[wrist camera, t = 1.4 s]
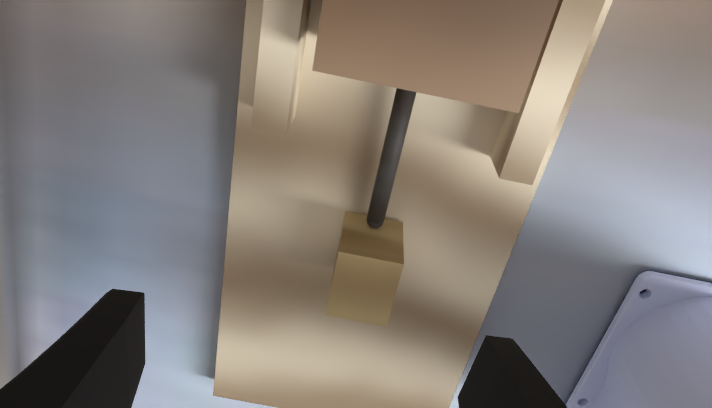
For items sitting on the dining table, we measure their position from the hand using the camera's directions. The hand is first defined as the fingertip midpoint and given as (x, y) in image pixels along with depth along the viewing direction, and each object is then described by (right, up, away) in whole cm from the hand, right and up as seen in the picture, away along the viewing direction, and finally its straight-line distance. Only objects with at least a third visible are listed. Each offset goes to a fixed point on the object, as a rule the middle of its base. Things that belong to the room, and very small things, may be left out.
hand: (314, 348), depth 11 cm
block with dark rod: (+3, +7, +8) cm, 11 cm away
